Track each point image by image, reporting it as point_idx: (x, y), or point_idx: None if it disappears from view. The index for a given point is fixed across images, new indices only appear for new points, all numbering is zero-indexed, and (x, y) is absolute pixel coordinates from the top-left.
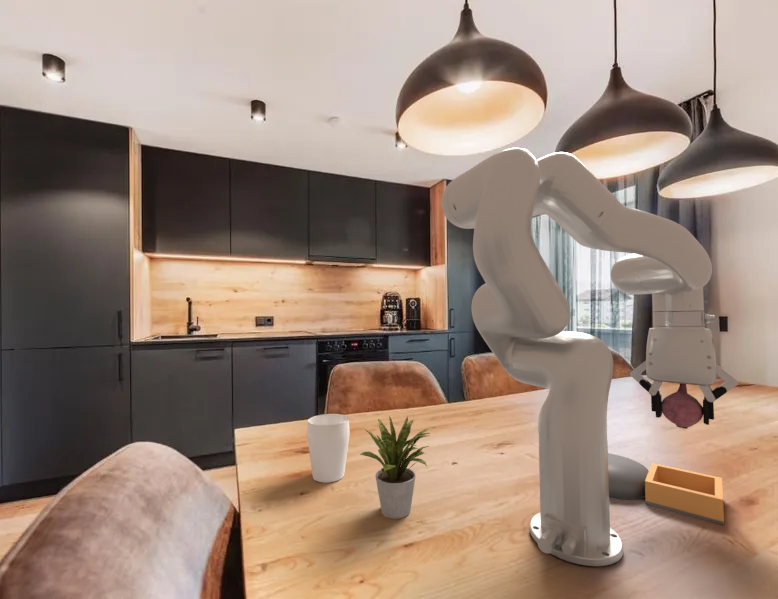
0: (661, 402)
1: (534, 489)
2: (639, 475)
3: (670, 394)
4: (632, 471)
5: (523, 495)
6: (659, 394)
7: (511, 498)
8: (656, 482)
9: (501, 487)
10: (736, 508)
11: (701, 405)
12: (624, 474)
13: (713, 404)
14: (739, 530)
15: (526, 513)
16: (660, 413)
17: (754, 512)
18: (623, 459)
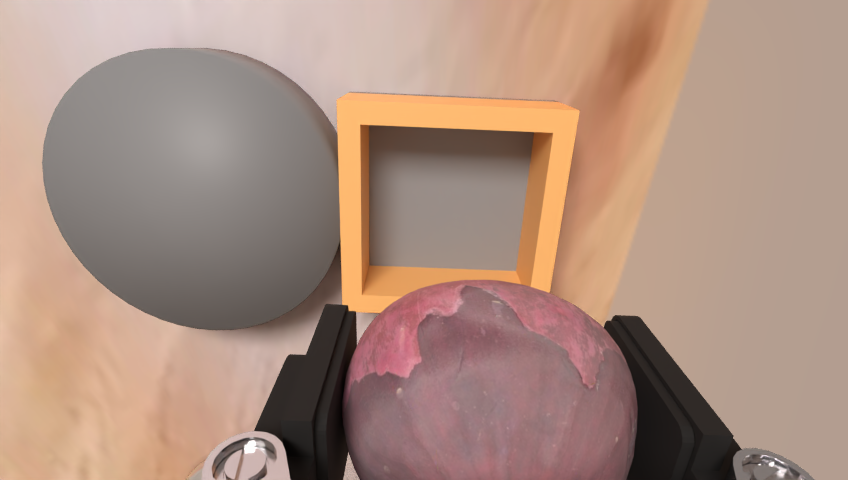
0: (345, 436)
1: (90, 368)
2: (317, 245)
3: (410, 472)
4: (289, 220)
5: (92, 413)
6: (314, 477)
7: (82, 441)
8: (374, 302)
9: (23, 406)
10: (581, 145)
11: (630, 465)
12: (274, 267)
13: (732, 439)
14: (557, 287)
15: (149, 477)
16: None
17: (624, 143)
18: (226, 98)
